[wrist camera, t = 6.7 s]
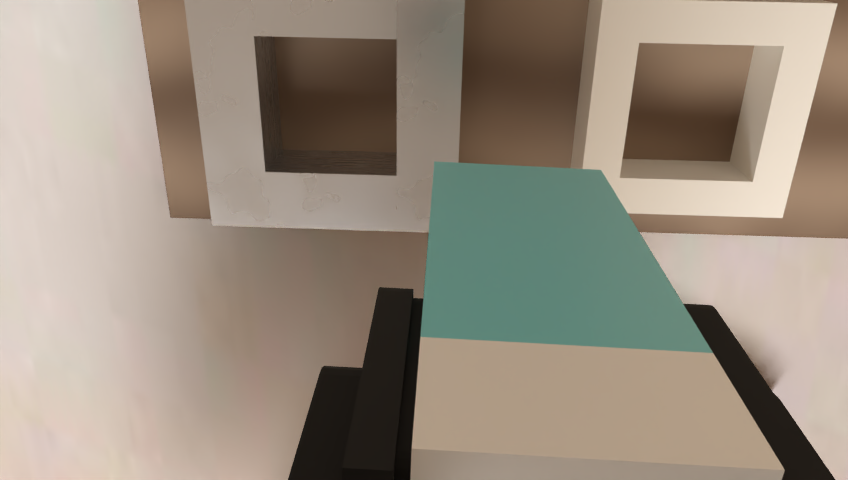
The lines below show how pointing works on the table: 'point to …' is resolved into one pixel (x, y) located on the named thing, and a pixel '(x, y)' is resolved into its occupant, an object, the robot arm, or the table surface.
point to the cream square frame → (760, 112)
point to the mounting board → (518, 106)
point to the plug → (563, 343)
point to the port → (321, 169)
